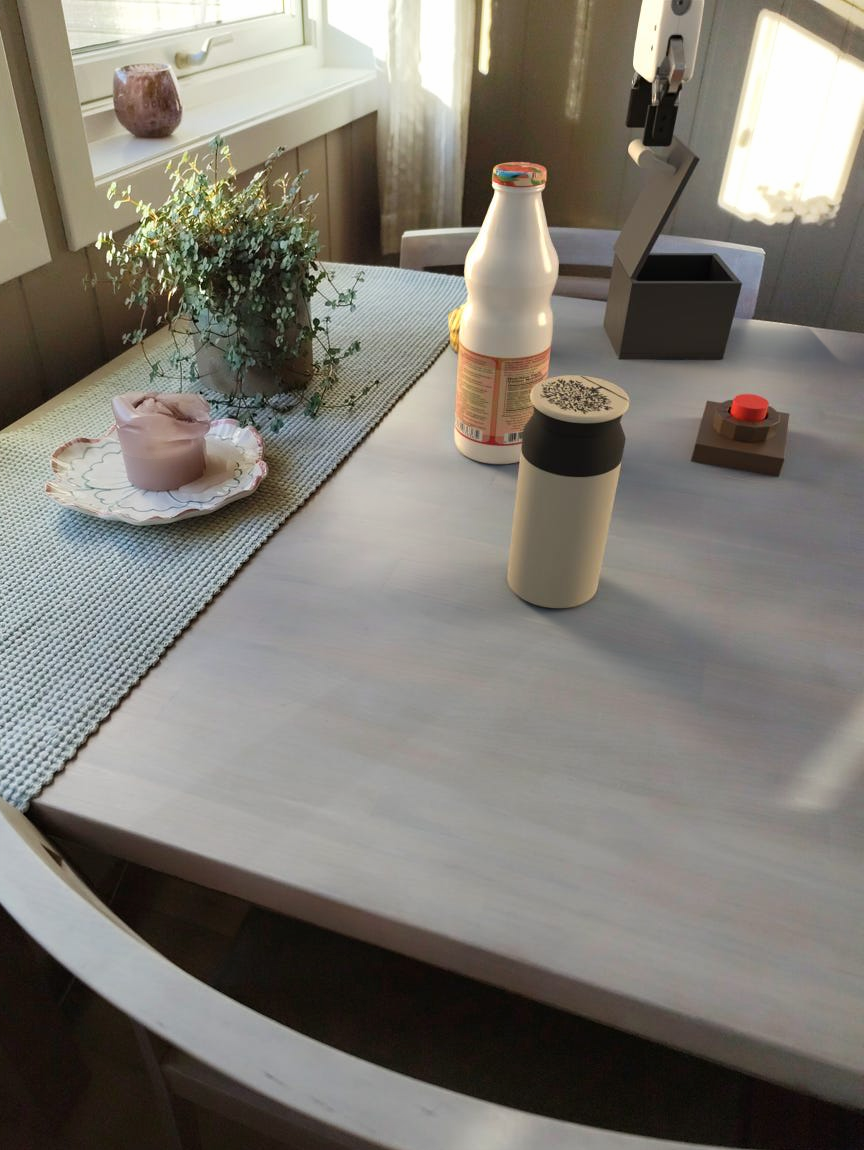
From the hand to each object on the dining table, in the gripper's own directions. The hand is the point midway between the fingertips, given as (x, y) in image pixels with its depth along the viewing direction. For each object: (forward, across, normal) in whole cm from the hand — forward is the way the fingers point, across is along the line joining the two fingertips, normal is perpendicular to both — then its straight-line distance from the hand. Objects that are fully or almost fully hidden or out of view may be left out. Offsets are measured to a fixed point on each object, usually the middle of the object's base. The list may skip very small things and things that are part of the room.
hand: (646, 136), depth 105 cm
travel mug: (+25, -54, +15) cm, 62 cm away
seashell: (+25, -2, +18) cm, 31 cm away
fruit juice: (+25, -29, +18) cm, 42 cm away
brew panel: (+25, -29, -9) cm, 39 cm away
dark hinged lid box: (+25, 0, -7) cm, 26 cm away
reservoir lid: (+8, 0, -3) cm, 8 cm away
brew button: (+21, -29, -9) cm, 37 cm away
